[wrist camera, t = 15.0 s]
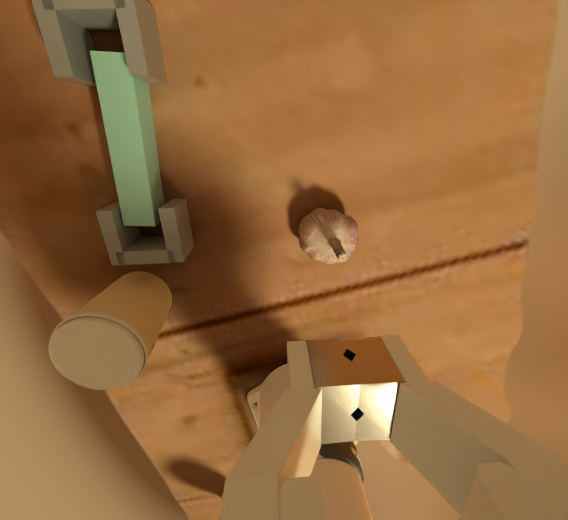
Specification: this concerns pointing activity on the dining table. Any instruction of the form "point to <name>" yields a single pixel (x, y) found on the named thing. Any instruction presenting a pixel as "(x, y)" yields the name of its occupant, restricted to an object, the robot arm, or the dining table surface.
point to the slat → (129, 138)
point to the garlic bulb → (328, 235)
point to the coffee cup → (112, 333)
